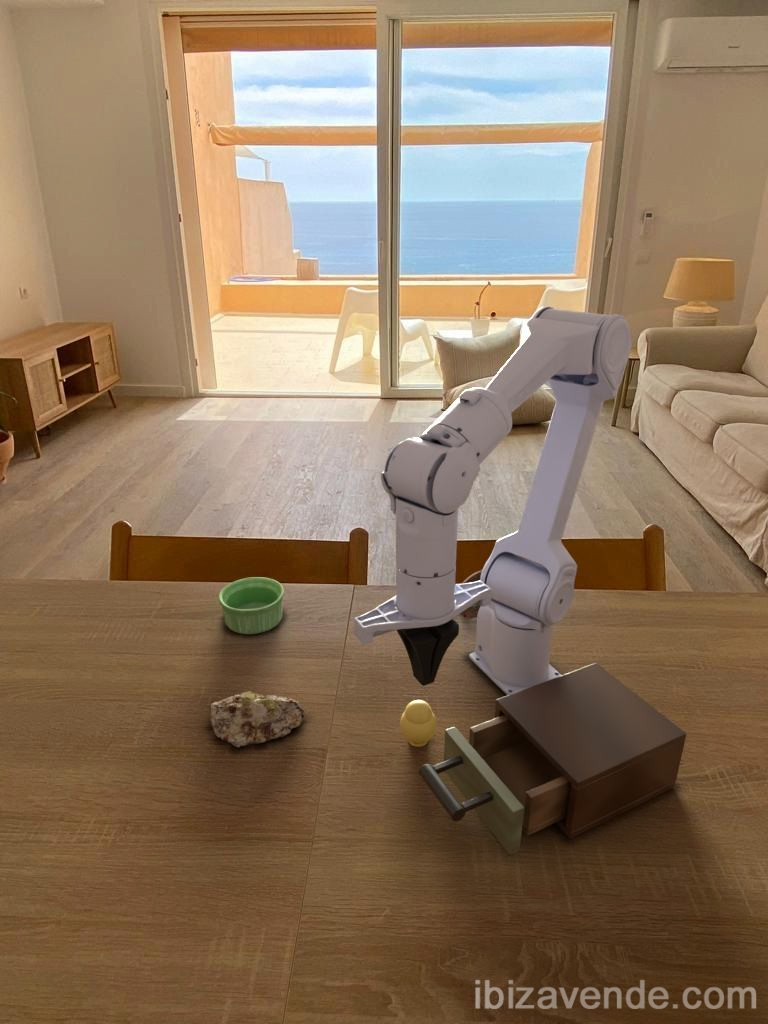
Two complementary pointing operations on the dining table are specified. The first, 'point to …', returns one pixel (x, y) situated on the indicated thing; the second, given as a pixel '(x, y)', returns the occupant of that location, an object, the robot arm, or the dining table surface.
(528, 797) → the drawer
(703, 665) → the dining table surface
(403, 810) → the dining table surface
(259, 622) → the ramekin
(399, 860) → the dining table surface
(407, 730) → the yellow double-bulb knob
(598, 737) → the cabinet
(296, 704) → the mineral rock
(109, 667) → the dining table surface
